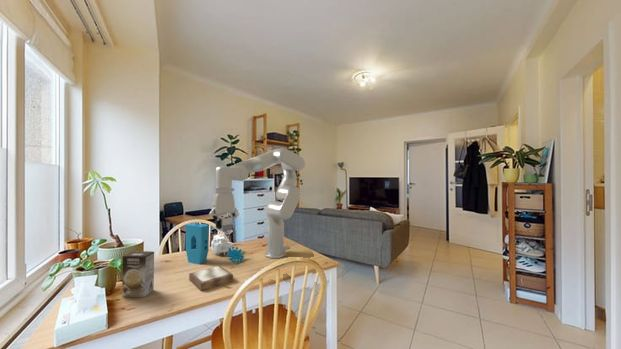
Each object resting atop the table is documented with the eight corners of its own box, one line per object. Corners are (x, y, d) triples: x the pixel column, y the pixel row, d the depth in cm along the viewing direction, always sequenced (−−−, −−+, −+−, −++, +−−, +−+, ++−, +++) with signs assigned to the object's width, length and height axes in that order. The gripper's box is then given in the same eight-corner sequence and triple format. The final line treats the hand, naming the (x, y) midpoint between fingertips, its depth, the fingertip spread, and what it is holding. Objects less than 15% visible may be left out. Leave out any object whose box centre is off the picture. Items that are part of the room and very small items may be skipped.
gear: (231, 263, 131) (225, 246, 136) (225, 269, 134) (220, 252, 139) (248, 260, 139) (242, 244, 145) (243, 266, 142) (237, 250, 147)
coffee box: (121, 297, 98) (121, 255, 98) (132, 289, 105) (132, 250, 105) (145, 297, 99) (145, 256, 98) (154, 289, 105) (154, 250, 105)
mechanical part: (236, 253, 152) (236, 233, 152) (217, 258, 143) (218, 237, 142) (226, 249, 159) (226, 230, 159) (207, 253, 150) (208, 233, 150)
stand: (219, 271, 124) (219, 265, 124) (232, 281, 114) (233, 273, 114) (189, 280, 114) (189, 272, 114) (201, 291, 104) (201, 283, 104)
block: (184, 261, 137) (185, 224, 136) (192, 258, 141) (192, 222, 141) (202, 264, 132) (202, 226, 132) (209, 261, 137) (209, 224, 137)
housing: (225, 227, 132) (225, 214, 132) (232, 229, 126) (232, 216, 126) (215, 228, 128) (215, 215, 128) (222, 231, 122) (222, 218, 122)
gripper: (236, 189, 135) (236, 223, 136) (203, 191, 123) (203, 228, 124) (243, 190, 130) (243, 226, 130) (210, 192, 118) (210, 231, 118)
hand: (223, 227), depth 127 cm, fingers closed on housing, 5 cm apart
